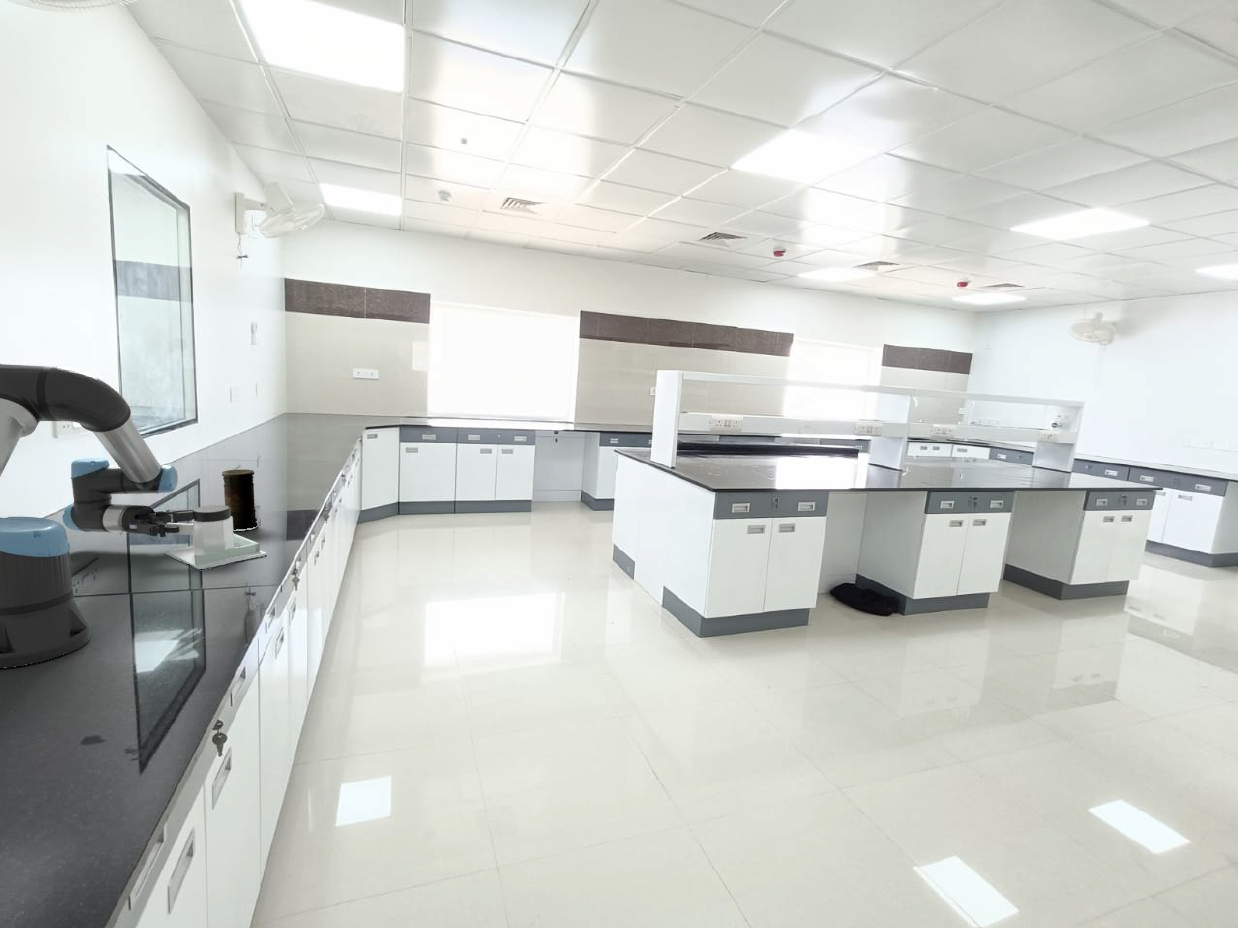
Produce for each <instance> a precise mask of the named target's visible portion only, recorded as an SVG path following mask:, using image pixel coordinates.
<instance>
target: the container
mask: <svg viewBox="0 0 1238 928" xmlns="http://www.w3.org/2000/svg"><path fill="white" fill-rule="evenodd" d="M254 475H255V471H254V470H253V469H242V468H241V469H227V470H224V471H222V472H221V476H222V477H223V478H222V479H223V489H224V490H223V493H224V494H223V495H224V506H228V507H230V515H231V516H232V517H233V530H236V529H247V528H253V527H256V526H257V525H259V524H258V522H257V521H258V519H257V517H256V516H257V515H256V508H255V507H256V506H255V504H256V503H255V484H254V477H255V476H254ZM257 527H258V526H257Z"/></svg>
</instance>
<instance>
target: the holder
mask: <svg viewBox="0 0 1238 928" xmlns="http://www.w3.org/2000/svg"><path fill="white" fill-rule="evenodd" d="M233 534H234V542H235V543H238V544H240V545H242V546H240V547H235V548H230V549H225V550H220V551H215V552H210V553H205V554H200V555H194V550H193V545H191V546H186V547H181V548H175V549H170V550H165V551H164V553H165V555H167V556H169V557H171V558H173V559H175V560H177V561H179V562H181V561H183V562H185V563H187V564H190V565H192V566H194V567H196V568H198V569H202V568H206V567H209V566H212V565H215V564H219V563H220V562H219V561H226V558H230V557H234V556H240V555H245V554H248V556H247V557H251V556H258V555H264V554H267V555H268V553H267V552H266V551H263V550H261V543H260V542H256V541H254V540H251V539H250V538H246V537H244V536H241V535H239V534H237V533H235V532H233ZM249 554H250V555H249ZM244 558H246V555H245V557H244ZM183 562H182V563H183ZM185 563H184V564H185ZM187 564H186V565H187Z"/></svg>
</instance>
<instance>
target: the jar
mask: <svg viewBox="0 0 1238 928" xmlns="http://www.w3.org/2000/svg"><path fill="white" fill-rule="evenodd" d="M193 509H194V510H193V518H194V519H193V520H192V521H191V524H194V529H195V534H194V535H192V546H193V550H194V555H200V554H205V553H210V552H215V551H220V550H225V549H230V548H234V534H235V533H234V532H233V517H232V516H231V515H230V507H228V506H225V505H221V504H220V505H219V504H218V505H215V504H214V505H204V506H200V507H196V508H193ZM233 533H234V534H233Z"/></svg>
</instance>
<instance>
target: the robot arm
mask: <svg viewBox="0 0 1238 928" xmlns="http://www.w3.org/2000/svg"><path fill="white" fill-rule="evenodd" d="M131 415H132V411H131V407H130V406H129V404H128V402H127V401H126V399H125V398H124V397H123V396H122V395H121V394H120V393H119V392H118V391H117V390H115V388H113V387H112V386H111V385H109V384H108V383H106V382H105V381H103V380H102V379H100V378H98V377H96V376H94V375H92V374H90V373H88V372H86V371H83V370H80V369H77V368H74V367H73V368H72V367H68V366H58V365H57V366H56V365H55V366H48V365H47V366H46V365H27V364H26V365H25V364H22V365H21V364H6V363H5V364H2V363H0V477H1V476H2V474H3V472H4V471H5V469H6V466H7V464H8V463H9V460H10V458H11V457H12V455H13V453H14V451H15V448H16V447H17V446H18V445H17V444H18V443H19V441H20V439H22V438H25V437H29V436H30V435H32V434H33V433H34V432H35V430H36V429H37V427H38V425H39V424H40V422H71V423H77V424H79V425H80V426H81V428H83V429H85V430H87V431H89V432H91V433H93V434H94V436H95V437H96V438H97V439H98V441H99V443H100V444H101V445H102V446H103V447H104V449H105V450H106V451H107V452H108V454H109V455H110V456H111V457H112V459H113V460H114V462H115V463H116V464H117V465H111V464H110V462H109V460H108V459H107V458H103V457H101V458H100V457H86V458H79V459H75V460H74V461H72V462H71V464H70V465H71V467H70V469H71V470H70V471H71V472H70V480H71V486H72V487H71V489H72V496H73V502H72V503H70V504H68V505H67V506H66V507H65V508H64V510H63V512H64V513H63V514H62V517H61V519H62V523H63V524H64V526H65V527H66V528H67V529H69V530H71V531H72V530H73V531H77V532H79V531H80V532H85V533H118V534H119V535H120V536H121V535H124V534H134V535H135V534H137V535H142V534H144V535H147V536H149V537H150V536H151V537H157V536H158V534H159V537H160V538H166V536H167V535H182V536H183V535H185V536H186V535H187V536H193V535H194V534H195V529H194V524H192V523H181V522H192V520H193V519H194V518H193V510H194V509H195V508H191V509H166V510H165V511H163V510H162V511H155V510H154V509H153V507H151V506H150V505H149V506H148V505H144V504H142V505H137V504H121V503H120V504H118V503H114V504H113V503H112V497H113V496H112V495H128V494H129V495H132V494H136V495H137V494H138V495H139V494H156V495H157V494H165V493H172V492H174V491H176V489H177V487H178V480H179V479H178V472H177V469H176V467H175V466H172V465H168V464H167V465H166V464H162V465H161V464H160V463H159V461H158V460H157V458H156V457H155V455H154V454H153V452H152V450H151V448H150V447H149V445H148V444H147V443H146V440H145V439H144V438H143V436H142V434H141V433H140V431H139V430H138V428H137V426H136V425H135V424H134V422H133V420H132V419H131ZM64 526H63V525H62V524H61V523H60V522H57V521H56V520H53V519H49V518H44V517H43V518H42V517H37V516H7V517H0V668H4V667H14V666H21V667H23V666H22V665H25V664H31V663H36V664H38V663H37V662H40V663H42V662H41V661H44V662H46V661H45V660H48V661H50V660H49V659H51V660H53V659H52V658H54V659H56V658H55V657H57V658H59V657H58V656H60V657H62V656H61V655H63V654H66V653H68V654H70V653H72V652H71V651H73V650H75V649H77V650H79V649H81V648H82V647H83V646H85V645H86V644H87V643H88V642H89V641H90V639H91V630H90V629H91V628H90V624H89V623H88V621H87V619H86V618H85V615H84V614H83V613H82V611H81V609H80V607H79V606H78V604H77V602H76V601H75V598H74V589H73V587H74V586H73V578H72V566H71V554H70V549H71V546H70V543H69V540H68V539H69V538H68V535H67V530H66V528H65V527H64ZM78 648H79V649H78ZM75 651H76V650H75ZM69 652H70V653H69ZM73 652H74V651H73ZM66 655H67V654H66ZM63 656H64V655H63ZM31 665H32V664H31ZM14 668H15V667H14ZM4 669H5V668H4Z"/></svg>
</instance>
